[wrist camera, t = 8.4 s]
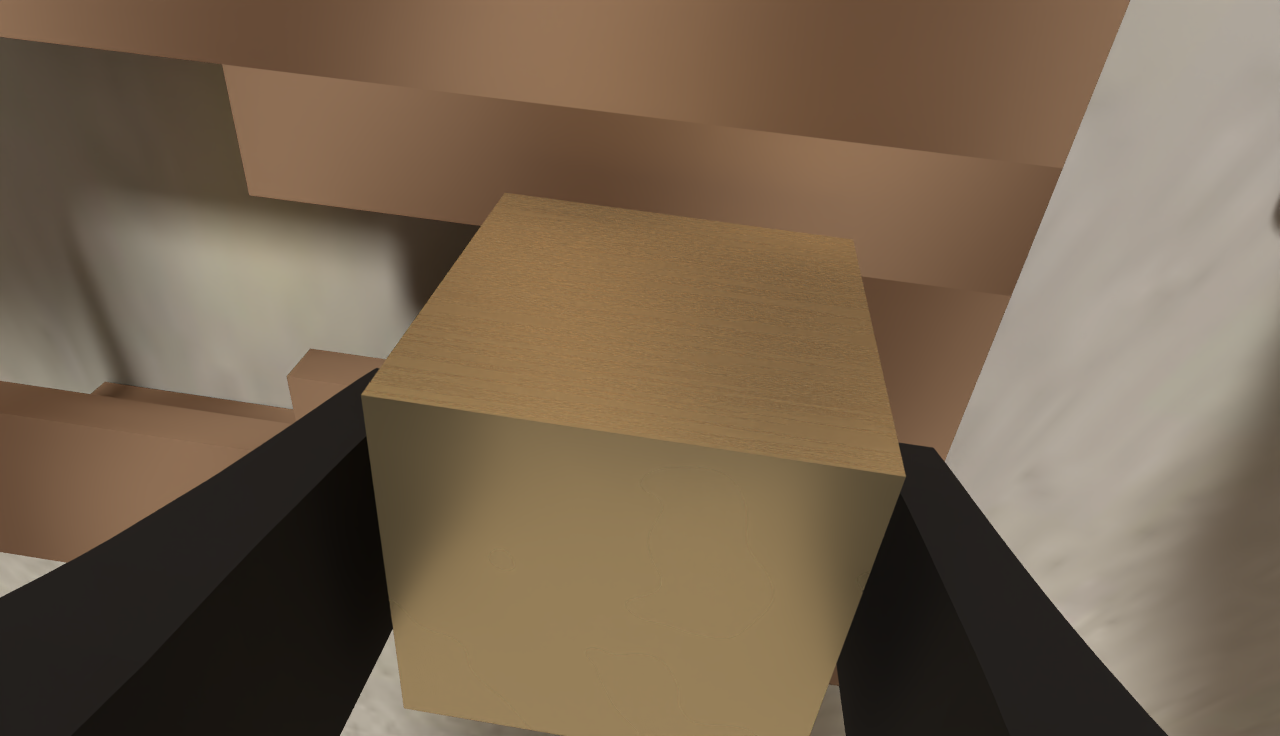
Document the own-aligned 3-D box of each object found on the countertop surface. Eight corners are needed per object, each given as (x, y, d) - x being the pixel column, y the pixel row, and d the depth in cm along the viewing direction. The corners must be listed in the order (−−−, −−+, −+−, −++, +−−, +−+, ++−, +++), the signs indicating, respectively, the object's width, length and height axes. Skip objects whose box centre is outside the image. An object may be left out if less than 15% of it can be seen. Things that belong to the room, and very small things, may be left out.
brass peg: (825, 114, 13) (905, 476, 6) (779, 324, 15) (794, 775, 8) (582, 83, 13) (361, 395, 6) (572, 295, 15) (404, 708, 8)
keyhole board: (1084, -224, 10) (1228, -244, 7) (836, 539, 18) (853, 688, 15) (-164, -346, 11) (-527, -413, 8) (124, 432, 19) (-1, 551, 16)
